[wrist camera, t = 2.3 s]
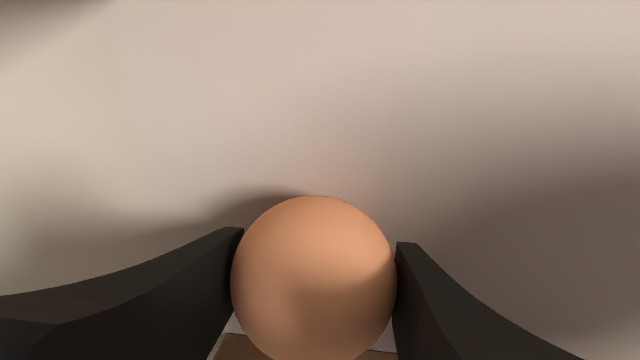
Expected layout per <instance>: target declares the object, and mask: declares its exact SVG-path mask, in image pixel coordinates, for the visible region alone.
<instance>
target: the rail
mask: <svg viewBox="0 0 640 360" xmlns="http://www.w3.org/2000/svg"><path fill="white" fill-rule="evenodd" d="M213 360H274V359H272V358H270V357H269V356H267V355H266V354H264V353H263V352H262V351H261V350H260V349H258V347H257V346H256V345H255V344H254V343H253V342H252V341H251V340H250V339H249V338H248V336H245V335H236V334H228V333H227V334H226V336H225V338H224V340H223V342H222V344H221V346H220V348H219V350H218V351H217V353H216V355H215V357H214V359H213ZM353 360H398V355H397V354H393V353H385V352H377V351H368V350H366V351H365V352H363V353H362V354H360V355H359V356H358V357H356V358H355V359H353Z"/></svg>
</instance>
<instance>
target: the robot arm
mask: <svg viewBox="0 0 640 360" xmlns="http://www.w3.org/2000/svg"><path fill="white" fill-rule="evenodd" d="M243 235H244V228H235V227H225V228H222V229H219V230H217V231H214V232H212V233H210V234H208V235H206V236H204V237H201V238H199V239H197V240H195V241H193V242H191V243H189V244H187V245H184V246H182V247H180V248H178V249H175V250H173V251H171V252H168V253H166V254H164V255H161V256H159V257H157V258H154V259H152V260H149V261H147V262H144V263H141V264H139V265H136V266H133V267H130V268H127V269H124V270H121V271H118V272H114V273H111V274H107V275H103V276H100V277H96V278H92V279H88V280H85V281H81V282H77V283H73V284H68V285H63V286H58V287H54V288H48V289H43V290H37V291H32V292H26V293H20V294H13V295H5V296H0V360H206V359H207V357H208V356H209V354H210V352H211V350H212V348H213V347H214V345H215V343H216V341H217V340H218V338H219V336H220V334H221V333H222V331H223V329H224V327H225V326H226V324H227V322H228V320H229V318H230V317H231V315H232V313H233V311H234V308H233V304H232V299H231V292H230V273H231V267H232V262H233V258H234V255H235V252H236V249H237V247H238V245H239V243H240V241H241V239H242V237H243ZM395 264H396V269H397V295H396V300H395V305H394V309H393V312H392V326H393V332H394V338H395V344H396V349H397V355H398V360H584V359H582V358H579V357H577V356H575V355H573V354H571V353H569V352H567V351H565V350H563V349H560V348H558V347H556V346H554V345H552V344H550V343H548V342H546V341H544V340H543V339H541V338H539V337H537V336H535V335H533V334H531V333H530V332H528V331H526V330H524V329H523V328H521V327H519V326H517V325H516V324H514V323H512V322H511V321H509V320H507V319H506V318H504V317H503V316H501V315H499V314H498V313H496V312H495V311H494V310H492V309H491V308H489V307H488V306H486V305H485V304H483V303H482V302H481V301H479V300H478V299H477V298H475V297H474V296H473V295H471V294H470V293H469V292H468V291H466V290H465V289H464V288H463V287H462V286H460V285H459V284H458V283H457V282H456V281H454V280H453V279H452V278H451V277H450V276H449V275H448V274H447V273H446V272H445V271H444V270H442V269H441V268H440V267H439V266H438V265H437V264H436V263H435V262H434V261H433V260H432V259H431V258H430V257H429V256H428V255H427V254H426V253H425V251H424V250H423V249H422V248H421V247H420V246H419V245H417V244H416V243H407V242H397V244H396V253H395Z"/></svg>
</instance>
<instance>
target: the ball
mask: <svg viewBox="0 0 640 360" xmlns="http://www.w3.org/2000/svg"><path fill="white" fill-rule="evenodd" d="M230 292H231V299H232V304H233V308H234V312H235V314H236V316H237V319H238V321H239V323H240V325H241V327H242V329H243V331H244V332H245V334H246V335H247V336H248V338H249V339H250V340H251V341H252V342H253V343H254V344H255V345H256V346H257V347H258V349H260V350H261V351H262V352H263V353H264V354H266V355H267V356H269V357H270V358H272V359H274V360H353V359H355V358H356V357H358V356H359V355H360V354H362V353H363V352H365V351H366V350H367V349H368V348H369V347H370V346H371V345H372V344H373V343H374V342H375V341H376V340H377V338H378V337H379V336H380V335H381V333H382V332H383V331H384V329H385V327H386V325H387V323H388V321H389V319H390V317H391V314H392V312H393V309H394V305H395V300H396V295H397V269H396V264H395V260H394V256H393V253H392V250H391V248H390V245H389V243H388V241H387V239H386V238H385V236H384V234H383V233H382V231H381V230H380V228H379V227H378V226H377V225H376V223H375V222H374V221H373V220H372V219H371V218H370V217H368V216H367V215H366V214H365V213H363V212H362V211H361V210H359V209H358V208H356V207H355V206H353V205H351V204H349V203H347V202H345V201H342V200H340V199H336V198H332V197H327V196H302V197H297V198H293V199H289V200H286V201H284V202H281V203H279V204H277V205H275V206H274V207H272V208H270V209H268V210H267V211H266V212H264V213H263V214H262V215H260V216H259V217H258V218H257V219H256V221H255V222H254V223H253V224H252V225H251V226H250V227H249V228H248V230H247V231H246V232H245V234H244V235H243V237H242V239H241V241H240V243H239V245H238V247H237V249H236V252H235V255H234V258H233V262H232V267H231V273H230Z"/></svg>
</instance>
